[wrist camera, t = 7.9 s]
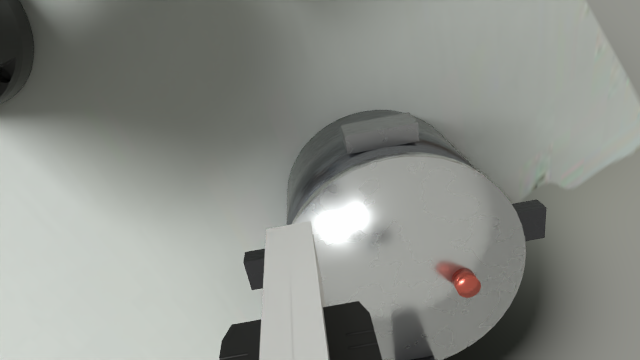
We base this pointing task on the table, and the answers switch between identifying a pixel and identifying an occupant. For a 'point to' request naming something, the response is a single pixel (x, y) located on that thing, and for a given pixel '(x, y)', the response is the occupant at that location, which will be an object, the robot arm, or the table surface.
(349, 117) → the pot
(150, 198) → the table surface
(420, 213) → the lid
